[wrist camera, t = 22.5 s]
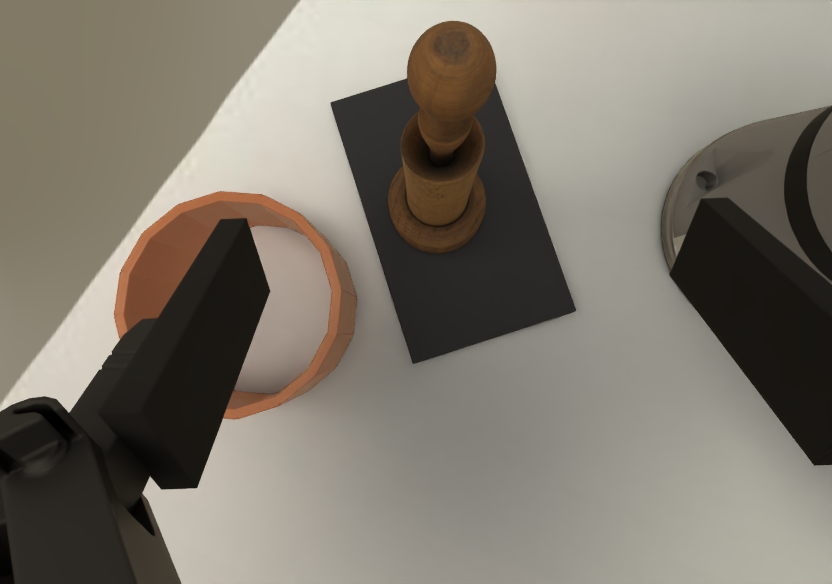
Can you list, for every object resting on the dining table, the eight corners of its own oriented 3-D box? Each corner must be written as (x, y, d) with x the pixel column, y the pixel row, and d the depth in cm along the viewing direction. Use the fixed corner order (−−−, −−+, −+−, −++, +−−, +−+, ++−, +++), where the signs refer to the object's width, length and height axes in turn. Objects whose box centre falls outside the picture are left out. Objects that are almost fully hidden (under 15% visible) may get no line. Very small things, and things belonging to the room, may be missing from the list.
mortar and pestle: (376, 235, 31) (315, 105, 13) (408, 152, 32) (390, -78, 14) (464, 267, 31) (521, 177, 13) (494, 183, 32) (589, -13, 14)
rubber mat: (483, 58, 33) (484, 53, 33) (573, 311, 31) (576, 311, 31) (331, 106, 33) (330, 102, 32) (413, 363, 31) (412, 364, 31)
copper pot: (325, 195, 32) (303, 164, 26) (379, 368, 31) (368, 376, 25) (153, 250, 32) (91, 231, 26) (200, 426, 31) (146, 448, 25)
